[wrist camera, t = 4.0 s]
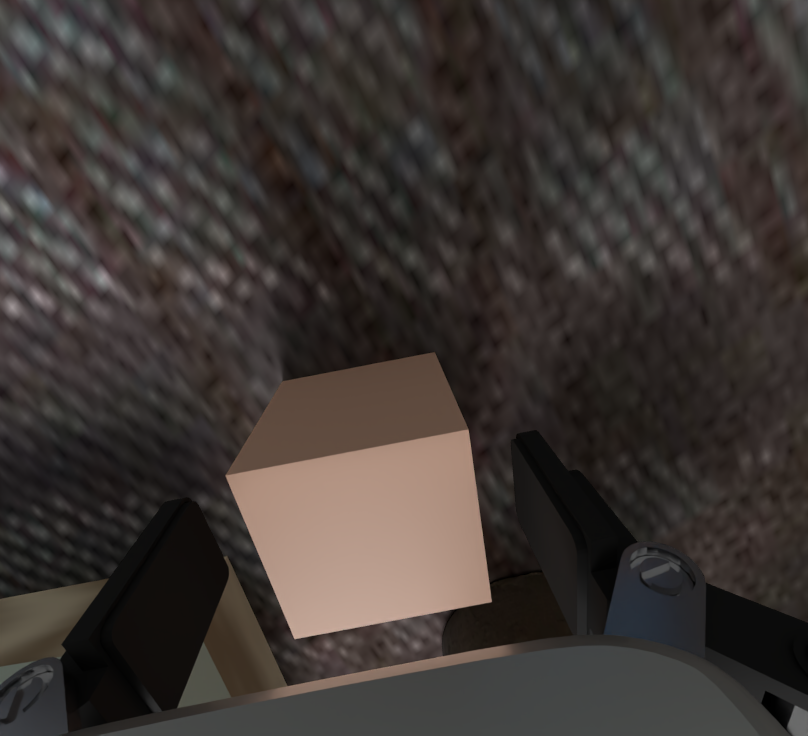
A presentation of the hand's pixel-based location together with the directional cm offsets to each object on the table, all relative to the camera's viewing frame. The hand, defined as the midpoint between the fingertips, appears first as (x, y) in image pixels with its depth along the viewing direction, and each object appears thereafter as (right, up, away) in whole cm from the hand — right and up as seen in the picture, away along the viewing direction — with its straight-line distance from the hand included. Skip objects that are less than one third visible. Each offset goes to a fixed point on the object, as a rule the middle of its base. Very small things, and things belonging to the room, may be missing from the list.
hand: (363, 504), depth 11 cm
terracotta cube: (0, +1, +5) cm, 5 cm away
